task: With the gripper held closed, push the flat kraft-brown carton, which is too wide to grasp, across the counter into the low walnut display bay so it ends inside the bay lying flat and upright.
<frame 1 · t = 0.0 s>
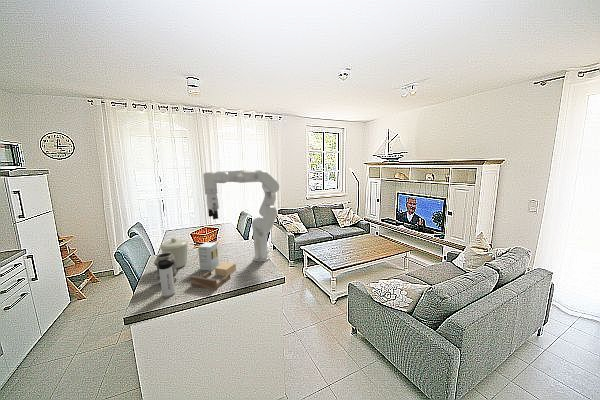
hand: (213, 217, 157), 37 cm above the countertop, tool pointing down, fingers open, 9 cm apart
canister: (176, 266, 173), on the countertop
supplement box: (209, 267, 169), on the countertop
travel mug: (168, 295, 135), on the countertop
display bay: (212, 281, 149), on the countertop
kraft carton: (226, 272, 161), on the countertop
apothecary jar: (167, 282, 150), on the countertop
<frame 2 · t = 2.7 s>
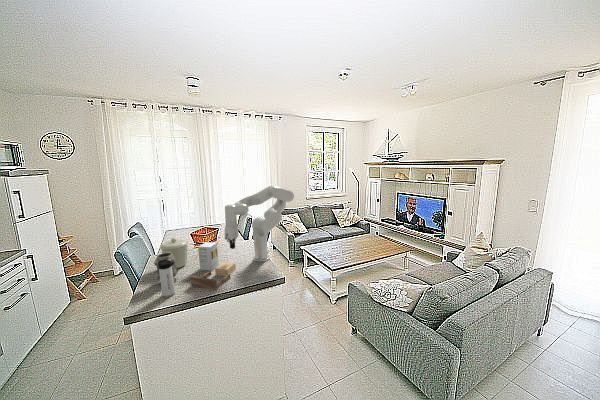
hand: (232, 248, 167), 13 cm above the countertop, tool pointing down, fingers closed
nothing on the countertop moved.
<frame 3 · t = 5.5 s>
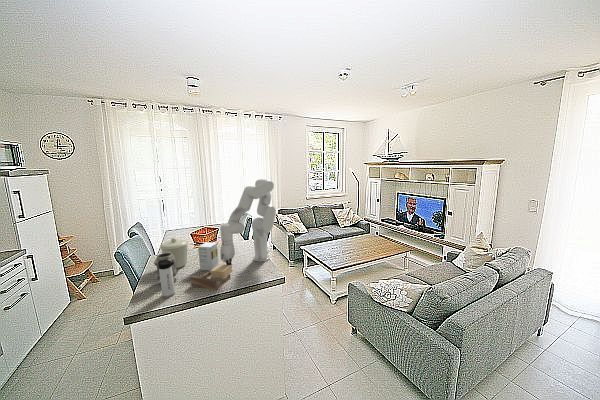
hand: (229, 267, 164), 1 cm above the countertop, tool pointing down, fingers closed
kraft carton: (221, 275, 158), on the countertop, touching gripper
everything else where it was.
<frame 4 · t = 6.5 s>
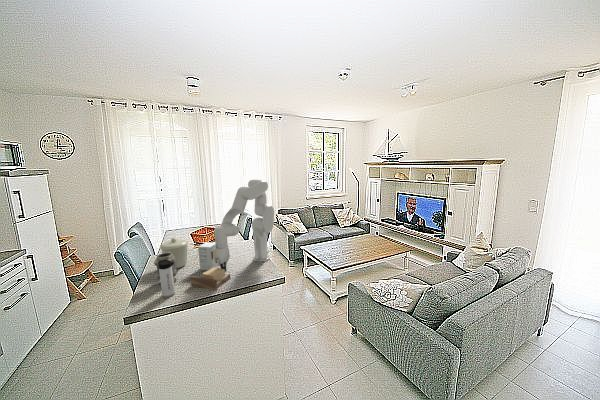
hand: (223, 271, 159), 1 cm above the countertop, tool pointing down, fingers closed
kraft carton: (214, 278, 153), on the countertop, touching gripper
everything else where it was.
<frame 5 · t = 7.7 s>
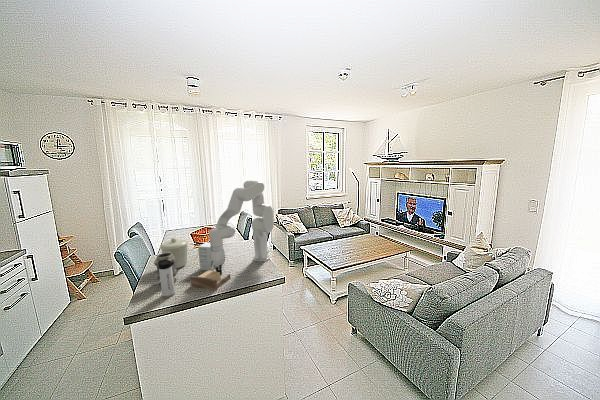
hand: (219, 274, 154), 1 cm above the countertop, tool pointing down, fingers closed
kraft carton: (209, 282, 149), on the countertop, touching gripper
everything else where it was.
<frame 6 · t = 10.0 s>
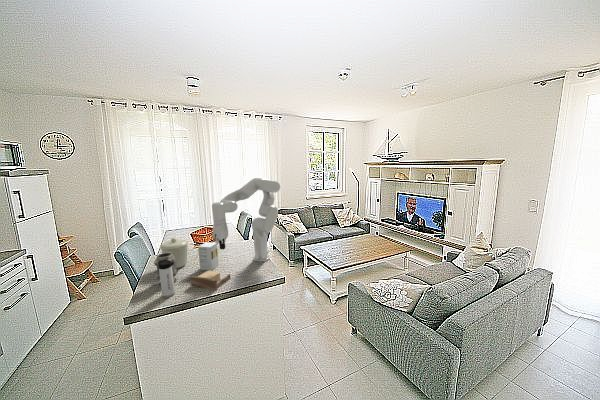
hand: (222, 248, 156), 17 cm above the countertop, tool pointing down, fingers closed
kraft carton: (208, 282, 148), on the countertop
everything else where it was.
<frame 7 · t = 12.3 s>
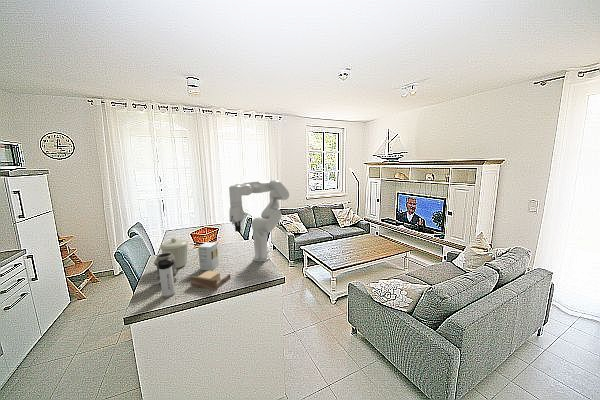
hand: (238, 231, 160), 27 cm above the countertop, tool pointing down, fingers closed
nothing on the countertop moved.
at the end: kraft carton 2.5 cm off-centre on the display bay, point 0.0 cm above the display bay's base; kraft carton tilted 0°; kraft carton moved 14.4 cm from its start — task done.
